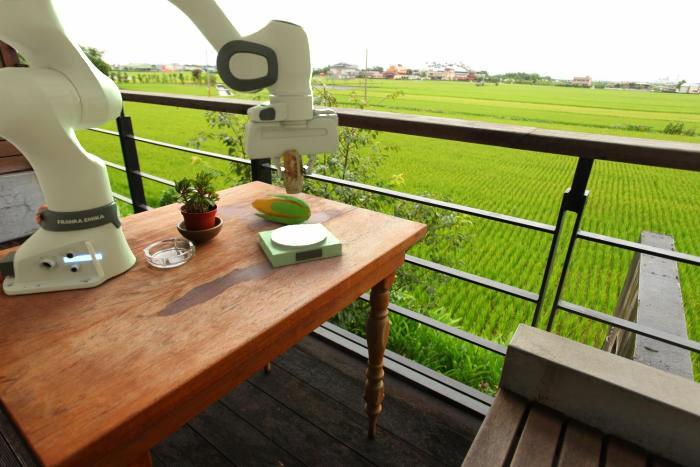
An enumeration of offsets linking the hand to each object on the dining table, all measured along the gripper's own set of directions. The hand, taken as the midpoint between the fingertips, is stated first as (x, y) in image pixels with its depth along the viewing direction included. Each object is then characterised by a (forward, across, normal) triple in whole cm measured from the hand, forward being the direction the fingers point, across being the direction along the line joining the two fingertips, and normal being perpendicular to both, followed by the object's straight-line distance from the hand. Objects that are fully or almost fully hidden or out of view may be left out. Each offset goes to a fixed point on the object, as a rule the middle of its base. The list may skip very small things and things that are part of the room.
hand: (294, 175), depth 85 cm
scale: (+18, 0, 0) cm, 18 cm away
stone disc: (+4, 0, 0) cm, 4 cm away
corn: (+18, -1, -21) cm, 28 cm away
